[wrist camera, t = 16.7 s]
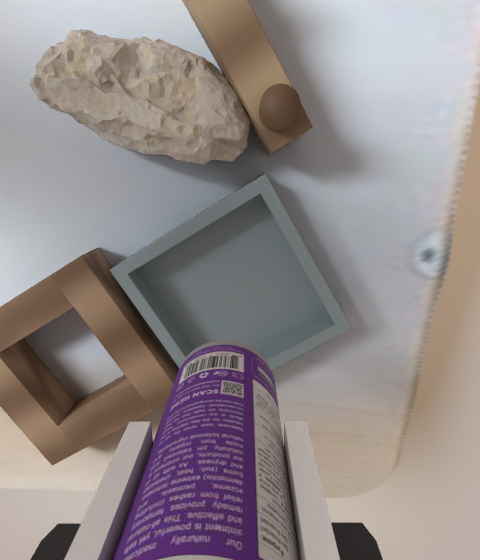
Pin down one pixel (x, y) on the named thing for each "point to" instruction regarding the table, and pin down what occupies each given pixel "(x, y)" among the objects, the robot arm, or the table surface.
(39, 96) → the stone
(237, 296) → the tray
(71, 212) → the table surface
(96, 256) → the block
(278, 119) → the bar
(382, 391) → the table surface
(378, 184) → the table surface
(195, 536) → the container
